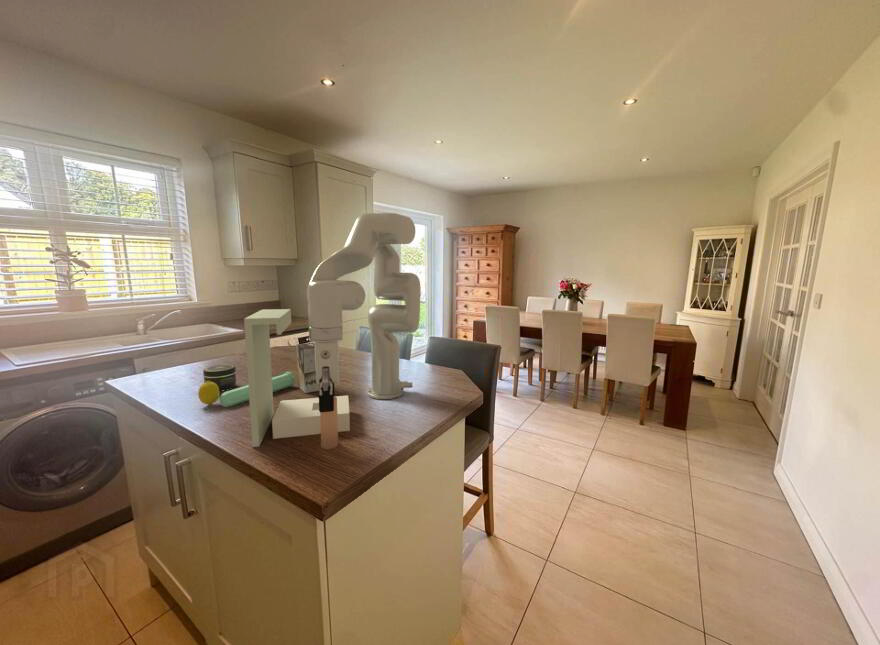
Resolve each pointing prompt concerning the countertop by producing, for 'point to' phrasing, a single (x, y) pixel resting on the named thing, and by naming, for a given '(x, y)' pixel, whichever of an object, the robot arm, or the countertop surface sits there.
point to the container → (243, 392)
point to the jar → (221, 376)
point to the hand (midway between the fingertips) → (327, 404)
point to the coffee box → (307, 368)
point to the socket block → (306, 417)
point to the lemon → (208, 393)
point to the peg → (329, 428)
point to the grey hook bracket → (261, 366)
